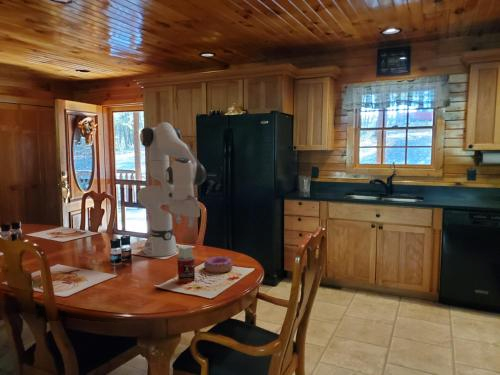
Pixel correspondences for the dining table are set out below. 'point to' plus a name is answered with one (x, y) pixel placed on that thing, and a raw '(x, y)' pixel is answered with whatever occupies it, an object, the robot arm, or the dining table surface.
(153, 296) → the dining table surface
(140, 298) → the dining table surface
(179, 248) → the sage block
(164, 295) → the dining table surface
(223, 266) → the donut
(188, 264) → the canned food
